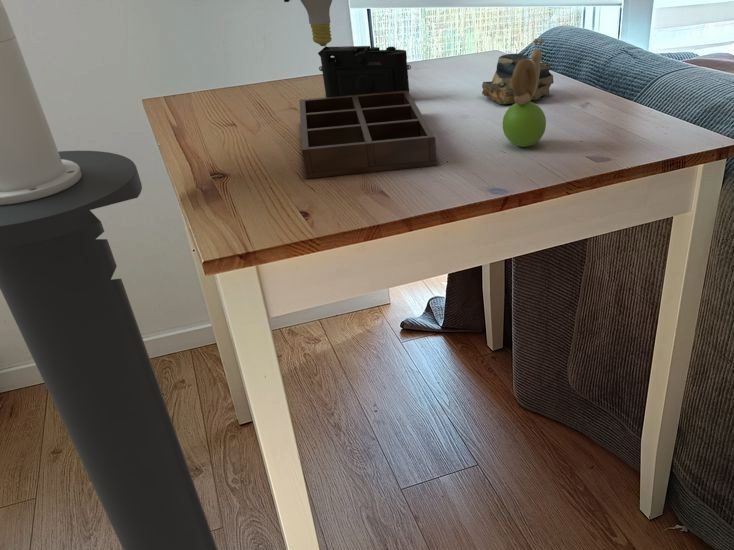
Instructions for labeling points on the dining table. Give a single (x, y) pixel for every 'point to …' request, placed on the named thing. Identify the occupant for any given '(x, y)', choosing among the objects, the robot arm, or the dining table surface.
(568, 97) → the dining table surface
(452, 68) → the dining table surface
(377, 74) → the camera
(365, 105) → the compartment tray
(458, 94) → the dining table surface
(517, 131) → the snail figurine
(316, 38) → the light bulb
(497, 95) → the rock
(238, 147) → the dining table surface
